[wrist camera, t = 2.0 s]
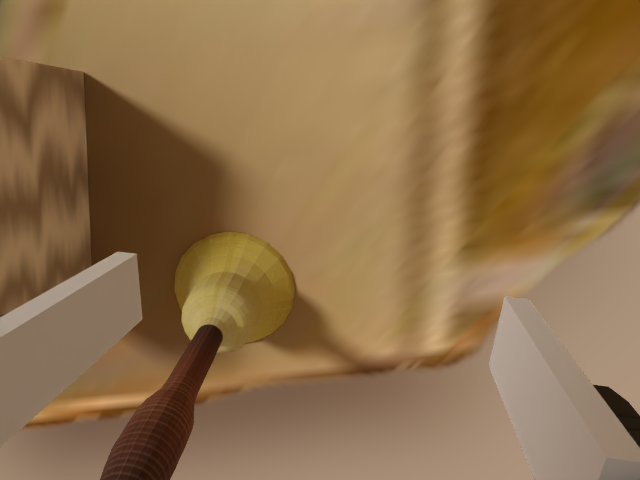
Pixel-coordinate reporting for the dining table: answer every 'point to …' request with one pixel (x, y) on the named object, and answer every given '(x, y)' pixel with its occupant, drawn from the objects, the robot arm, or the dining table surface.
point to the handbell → (204, 343)
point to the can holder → (41, 180)
